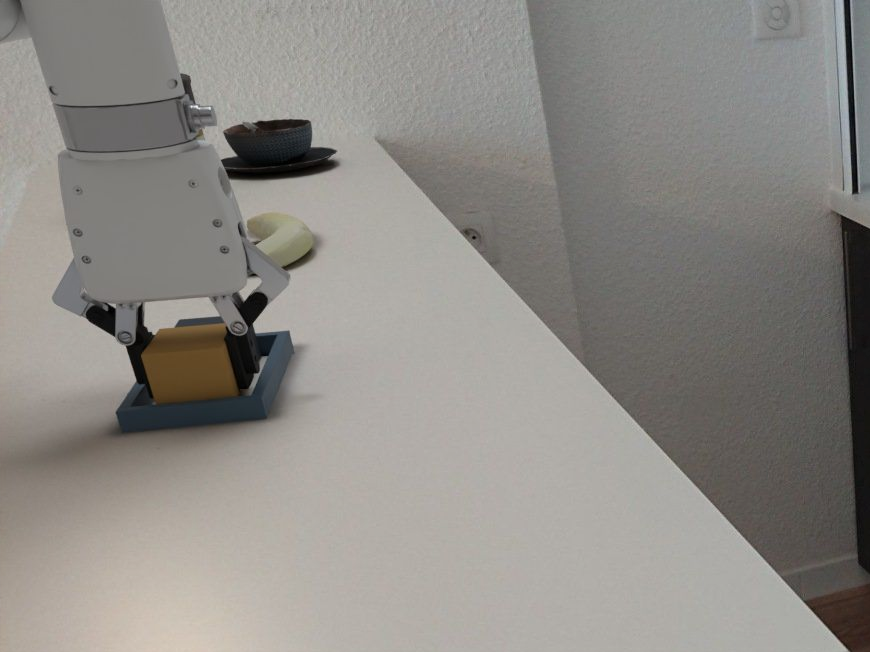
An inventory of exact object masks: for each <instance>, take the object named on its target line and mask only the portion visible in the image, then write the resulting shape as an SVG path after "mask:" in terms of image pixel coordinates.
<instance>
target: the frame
mask: <svg viewBox="0 0 870 652" xmlns="http://www.w3.org/2000/svg"><path fill="white" fill-rule="evenodd" d="M255 334H256V338H257V342H258V346H259V350H260V354H261V358H263V357H267V358H266V359H265V362H264V365H263V367H262V369H261V371H260V374H259V375H258V378H257V381H256V382H255V385H254V387H253V390H252V393H251V394H248V395H240V396H239V395H238V396H237V397H227V398H217V399H206V400H196V401H186V402H175V403H165V404H156V403H155V404H153V403H154V402H155V400H154V399H151V398H150V397H149V394H148V391H147V388H146V385H145V384H141V385H139V384H138V383H137V380H135V382H134V383H133V385H132V387H131V388H130V389H129V392H128V393H127V395H126V396H125V397H124V399H123V400H122V402H121V403H120V405H119V406H118V407H117V409H116V410H115V412H114V413H115V415H116V419H117V422H118V426H119V428H120V431H121V433H122V434H127V433H136V432H137V433H138V432H145V431H156V430H166V429H176V428H187V427H196V426H206V425H215V424H226V423H236V422H244V421H253V420H254V421H257V420H263V419H268V417H269V414H270V412H271V409H272V406H273V404H274V401H275V399H276V396H277V393H278V392H279V389H280V386H281V383H282V381H283V378H284V375H285V374H286V370H287V367H288V365H289V363H290V360H291V358H292V356H293V355H295V348H294V345H293V340H292V336H291V332H290V330H280V331H267V332H257V333H256V332H255Z"/></svg>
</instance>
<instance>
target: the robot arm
mask: <svg viewBox="0 0 870 652" xmlns="http://www.w3.org/2000/svg"><path fill="white" fill-rule="evenodd" d="M168 26H169V25H168V22H167V19H166V16H165V12H164V8H163V4H162V1H161V0H0V44H5V43H11V42H16V41H21V40H27V39H31V40H32V43H33V47H34V50H35V53H36V56H37V59H38V62H39V66H40V70H41V72H42V75H43V78H44V82H45V85H46V89H47V92H48V95H49V98H50V101H51V102H52V107H53V110H54V113H55V117H56V120H57V123H58V126H59V130H60V133H61V137H62V139H63V142H64V145H65V149H63V150H61V151H60V152H59V153H58V154H57V169H58V180H59V181H58V182H59V188H60V196H61V202H62V207H63V213H64V218H65V223H66V228H67V229H66V230H67V233H68V237H69V238H68V239H69V242H70V246H71V251H72V254H73V258H72V260H71V262H70V263H69V265H68V267H67V269H66V271H65V273H64V274H63V276H62V278H61V280H60V281H59V283H58V285H57V287H56V289H55V291H54V292H53V294H52V296H51V301H52V302H53V303H54V304H55V305H56V306H57V307H60V308H62V309H64V310H66V311H68V312H70V313H72V314H74V315H77V316H78V317H82V318H84V319H86V320H87V321H88V322H89V323H90V324H92V325H94V326H95V327H97V328H99V329H100V330H102V331H104V332H105V333H107V334H109V335H111V336H112V337H114V339H115V340H116V342H117V343H118V344H120V345H122V346H125V349H126V351H127V355H128V358H129V361H130V364H131V368H132V371H133V374H134V378H135V381H137V383H138V384H139V385H141V384H145V385H146V388H147V391H148V394H149V397H150V398H151V399H154V396H153V393H152V390H151V387H150V383H149V380H148V377H147V374H146V370H145V367H144V364H143V361H142V357H141V354H142V353H143V352H144V350H145V349H146V348H147V346H148V345H149V344H150V342H151V341H152V339H153V338H154V336H155V334H153V331H149V329H148V327H147V326H145V312H146V303H151V302H152V303H153V302H165V301H178V300H187V299H188V300H189V299H202V298H209V300H210V302H211V303H212V305H213V307H214V308H215V310H216V311H217V313H218V316H221V318H222V319H223V321H224V323H225V324H226V327H225V328H226V331H227V333H226V335H225V337H224V341H225V342H226V346H227V349H228V353H229V357H230V360H231V364H232V368H233V371H234V375H235V379H236V382H237V386H238V388H240V390H241V391H244V390H249V389H250V387H251V385H252V383H253V381H254V378H255V374H259V373H260V372H261V371H260V370H261V365H260V361H259V360H258V356H257V352H256V349H255V345H254V341H253V337H252V334H251V330H250V327H251V325H252V324H253V325H254V323H255V322H256V320H257V319H258V318H259V317H260V316H261V314H262V313H263V312H264V310H265V309H266V308H267V306H268V305H269V304H271V303H272V302H273V301H274V300H275V299H276V298H277V297H278V296H280V294H281V293H283V292H284V291H285V290H286V288H288V286H289V284H290V283H291V281H292V277H291V274H290V273H289V272H288V271H286V270H285V269H284V267H280V266H279V265H278V264H277V263H276V262H274V261H273V260H272V259H271V258H270V257H268V256H267V255H266V254H265V253H263V252H262V251H261V250H260V249H259V248H257V247H256V246H255V245H256V244H254V243H253V242H251V240H250V237H249V232H248V229H247V226H246V224H245V221H244V218H243V215H242V212H241V209H240V205H239V203H238V201H237V197H236V194H235V191H234V189H233V187H232V185H231V181H230V178H229V176H228V173H227V170H226V169H224V166H223V164H222V162H221V160H222V159H221V157H220V155H219V153H218V151H217V150H216V148H215V146H214V144H213V142H212V141H210V140H206V139H205V140H198V139H197V135H198V132H199V131H200V129H202V130H205V129H206V128H207V127H217V126H218V120H217V114H216V111H215V108H214V106H213V105H201V104H200V103H196V104H194V103H193V101H190V99H189V95H188V94H184V93H185V91H184V87H183V83H182V79H181V75H180V73H181V71H180V68H179V64H178V61H177V57H176V53H175V49H174V46H173V41H172V38H171V34H170V31H169V27H168ZM253 272H254V273H255V275H256V276H257V277H259V279H260V280H261V283H259V285H258V286H257V287H256V288H255V289H253V290H252V291H251V292H250V293H249V295H248V296H247V297H246V299H244V297H243V296H242V294H241V293H240V291H242V290H243V289H244V288H246V286H247V284H248V277H250V276H251V275H253V274H252V273H253ZM111 304H112V305H111ZM113 304H114V305H115V307H114V306H113Z"/></svg>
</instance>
